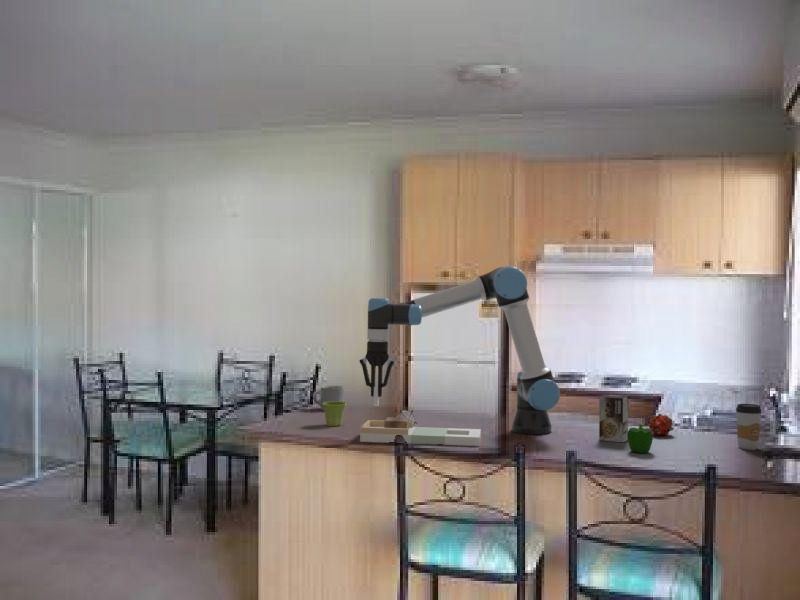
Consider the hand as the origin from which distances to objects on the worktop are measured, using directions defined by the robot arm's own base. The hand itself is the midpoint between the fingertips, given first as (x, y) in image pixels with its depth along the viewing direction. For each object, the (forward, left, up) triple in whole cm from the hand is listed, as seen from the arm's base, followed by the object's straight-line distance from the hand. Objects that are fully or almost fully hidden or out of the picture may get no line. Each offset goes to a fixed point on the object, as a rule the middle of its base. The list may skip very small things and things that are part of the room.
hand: (376, 405), depth 290 cm
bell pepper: (-92, +8, -12) cm, 93 cm away
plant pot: (+20, -23, -12) cm, 33 cm away
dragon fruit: (-105, -25, -12) cm, 108 cm away
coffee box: (-86, -12, -12) cm, 87 cm away
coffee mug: (+31, -62, -12) cm, 71 cm away
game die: (-9, -17, -12) cm, 23 cm away
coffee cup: (-131, -6, -12) cm, 131 cm away
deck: (-17, 0, -12) cm, 20 cm away
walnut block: (-8, 0, -9) cm, 12 cm away
